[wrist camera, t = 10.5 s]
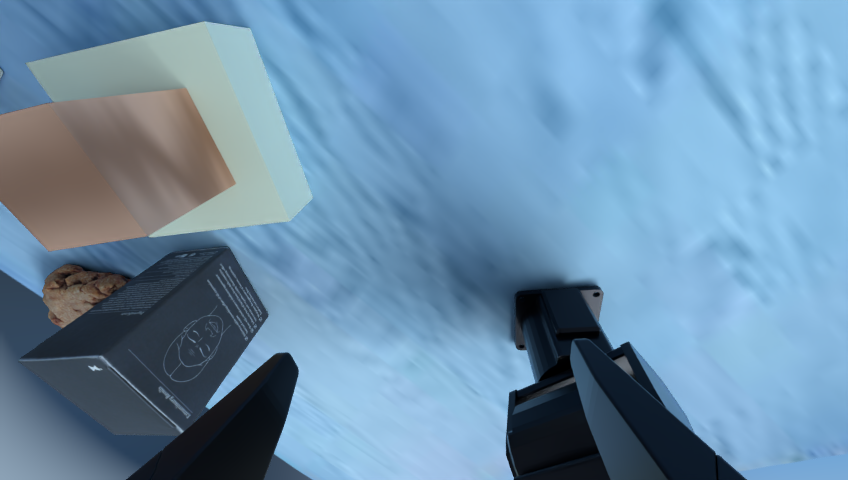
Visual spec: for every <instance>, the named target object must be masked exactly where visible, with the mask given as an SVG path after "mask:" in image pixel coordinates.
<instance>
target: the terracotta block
mask: <svg viewBox="0 0 848 480" xmlns="http://www.w3.org/2000/svg"><path fill="white" fill-rule="evenodd" d="M235 184H236V182H235V180H234V178H233V176H232V174H231V173H230V171H229V169H228V167H227V165H226V163H225V161H224V159H223V157H222V155H221V153H220V152H219V150H218V148H217V146H216V144H215V142H214V140H213V138H212V136H211V134H210V132H209V131H208V129H207V127H206V125H205V123H204V121H203V119H202V117H201V115H200V113H199V111H198V110H197V108H196V106H195V104H194V102H193V100H192V98H191V96H190V94H189V92H188V90H187V89H186V88H181V89H172V90H163V91H154V92H145V93H135V94H126V95H117V96H108V97H98V98H89V99H80V100H71V101H62V102H52V103H46V104H42V105H38V106H34V107H30V108H25V109H21V110H17V111H13V112H9V113H5V114H1V115H0V201H1V202H2V203H3V204H4V205H5V206H6V208H7V209H8V210H9V211H10V212H11V213H12V214H13V215H14V216H15V217H16V218H17V219H18V220H19V221H20V222H21V223H22V224H23V225H24V226H25V227H26V228H27V229H28V230H29V231H30V232H31V233H32V234H33V236H34V237H35V238H36V239H37V240H38V241H39V242H40V243H41V244H42V245H43V246H44V247H45V248H46V249H47V250H48V251H55V250H61V249H68V248H74V247H81V246H87V245H94V244H100V243H107V242H113V241H120V240H127V239H133V238H140V237H146V236H149V235H151V234H152V233H154V232H156V231H157V230H159V229H161V228H162V227H164V226H166V225H167V224H169V223H171V222H173V221H174V220H176V219H178V218H179V217H181V216H183V215H184V214H186V213H188V212H189V211H191V210H193V209H195V208H196V207H198V206H200V205H201V204H203V203H205V202H206V201H208V200H210V199H211V198H213V197H215V196H217V195H218V194H220V193H222V192H223V191H225V190H227V189H228V188H230V187H232V186H233V185H235Z"/></svg>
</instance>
